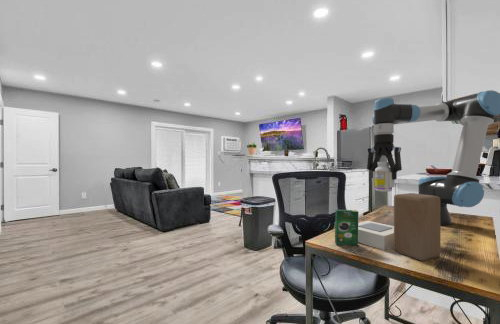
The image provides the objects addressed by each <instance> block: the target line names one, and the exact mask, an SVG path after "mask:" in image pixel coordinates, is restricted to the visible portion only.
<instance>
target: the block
mask: <svg viewBox="0 0 500 324" xmlns="http://www.w3.org/2000/svg"><path fill="white" fill-rule="evenodd" d="M393 226H394V247H393V250H394V252H396V253H399V254H402V255H404V256H407V257H410V258H413V259H415V260H419V261H421V262H423V261H427V260H431V259H434V258H439V257H440V256H441V225H440V197H438V196H432V195H424V194H419V193H415V192H413V193H411V192H409V193H398V194H397V193H396V194H395V195H393Z"/></svg>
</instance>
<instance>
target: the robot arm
mask: <svg viewBox="0 0 500 324" xmlns="http://www.w3.org/2000/svg"><path fill="white" fill-rule="evenodd" d="M373 112H374V113H373V116H372V119H371V120H372V123H373V125H374V129H373V130H374V131H373V134H374V136H373V143H374V145H373V147H369V148H367V152H368V155H367V164H366V169H367V170H369V171H370V172H371V173H370V174H371V177H370V178H371V179H372V186H373V187H375V169H376V168H377V167H378V164H377V162H381V161H380V160H381V159H382V156H385V158H386V159H387V162H388V163H389V167H390V168H391V172H389V187H392V188H395V185H396V184H395V181H396V180H397V178H398V177H397V173H398V172H400V171H402V170H403V168H402V167H403V166H402V159H401V152H402V147H400V146H395V145H394V133H395V132H394V131H395V130H394V126H395V125H399V124H400V125H401V124H411V123H419V122H420V123H421V122H431V121H436V122H440V123H441V122H457V121H458V122H461V123H462V125H463V126H462V129H461V132H460V137H459V141H458V145H457V150H456V154H455V156H454V162H453V165H452V169H451V172H449V173H447V174H446V176H444V175H443V176H427V177H425V176H424V177H420V178H419V179H418V185H417V186H418V194H424V195H432V196H438V197H440V226H447V225H448V226H449V225H452V218H451V214H450V212H449V209H448V205H450V206H457V207H459V208H473V207H476V206H477V205H478V204H480V203H481V202H482V200H483V199H484V196H485V189H484V187H483V185H482V184H481V183H480V178H478V177H477V173H478V169H479V164H480V161H481V157H482V152H483V148H484V144H485V140H486V136H487V132H488V128H489V125H491V124H493V123H494V122H495V119H496V116H499V115H500V92H498V91H496V90H492V89H491V90H485V91H480V92H477V93H473V94H470V95H464V96H461V97H457V98H455V99H454V98H453V99H451V100H448V101H444V102H437V103H436V104H435V105H424V106H418V105H416V104H412V103H411V104H410V103H409V104H406V103H405V104H402V103H401V104H400V103H395V102H394V98H391V97H384V98H382V97H381V98H378V99H376V100H375V102H374V108H373ZM392 152H393V153H392ZM393 154H394V155H393ZM393 156H394V158H393Z"/></svg>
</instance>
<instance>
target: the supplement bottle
mask: <svg viewBox="0 0 500 324" xmlns="http://www.w3.org/2000/svg"><path fill="white" fill-rule="evenodd" d="M377 164H378V167H377V168H376V169H375V186H374V190H375V191H377V192H383V193H384V192H387V193H389V192H392V191H393V187H389V172H391V168H390V166H389V163H388V161H379V162H377Z"/></svg>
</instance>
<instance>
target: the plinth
mask: <svg viewBox="0 0 500 324" xmlns="http://www.w3.org/2000/svg"><path fill="white" fill-rule="evenodd" d="M359 243H360V244H364V245H366V246H370V247H373V248H376V249H378V250H382V251H385V250H388V249H391V248H394V225H391V224H384V223H381V222H375V221H371V220H364V221H360V222H358V244H359Z"/></svg>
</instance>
